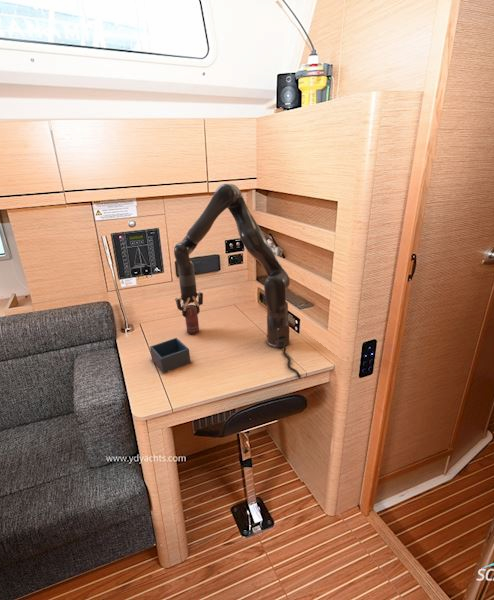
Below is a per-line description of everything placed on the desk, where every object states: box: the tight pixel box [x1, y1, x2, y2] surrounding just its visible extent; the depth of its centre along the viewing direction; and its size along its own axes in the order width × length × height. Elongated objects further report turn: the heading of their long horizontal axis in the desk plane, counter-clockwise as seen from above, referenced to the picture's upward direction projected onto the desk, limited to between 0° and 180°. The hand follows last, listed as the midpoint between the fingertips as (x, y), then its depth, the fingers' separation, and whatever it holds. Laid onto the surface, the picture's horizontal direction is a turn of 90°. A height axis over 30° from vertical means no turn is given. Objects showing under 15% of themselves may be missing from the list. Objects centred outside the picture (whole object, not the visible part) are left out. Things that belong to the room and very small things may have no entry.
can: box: [184, 304, 200, 336], centre depth 165 cm, size 6×6×14 cm
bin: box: [149, 337, 191, 374], centre depth 143 cm, size 13×13×7 cm
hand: (191, 314), depth 164 cm, fingers closed on can, 6 cm apart
